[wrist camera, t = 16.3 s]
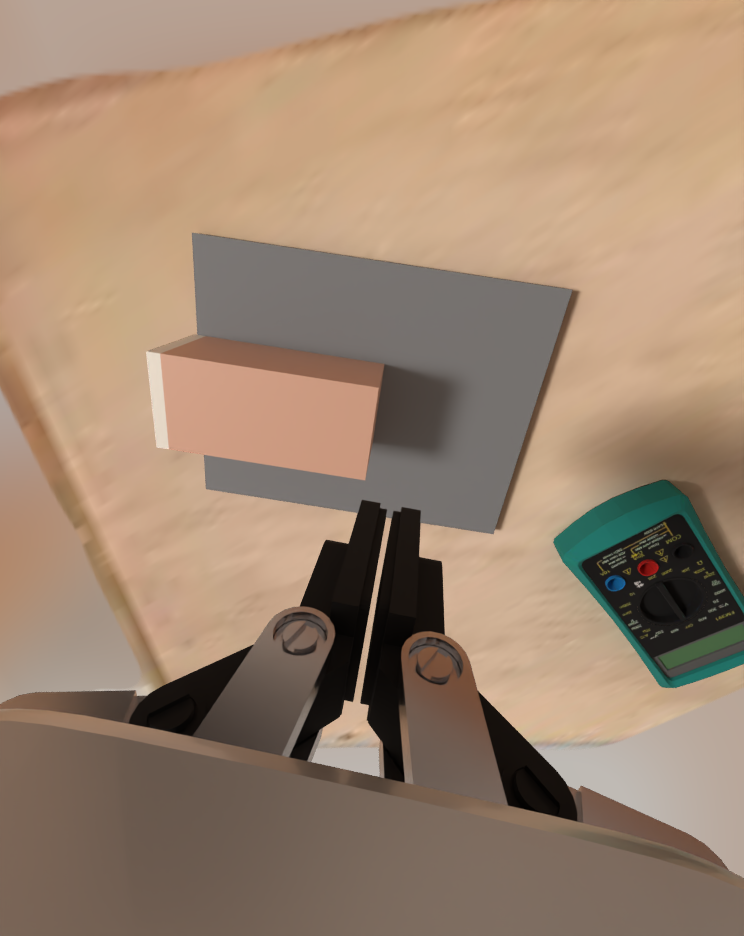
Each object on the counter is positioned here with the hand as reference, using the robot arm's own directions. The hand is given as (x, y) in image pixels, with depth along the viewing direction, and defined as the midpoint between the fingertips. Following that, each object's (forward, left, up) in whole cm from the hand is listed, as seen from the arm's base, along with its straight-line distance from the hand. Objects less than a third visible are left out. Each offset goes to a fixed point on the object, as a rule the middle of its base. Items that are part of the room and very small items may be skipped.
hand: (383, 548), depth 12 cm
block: (+1, 0, -10) cm, 10 cm away
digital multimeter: (-19, +9, -14) cm, 25 cm away
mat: (+2, 0, -13) cm, 13 cm away
